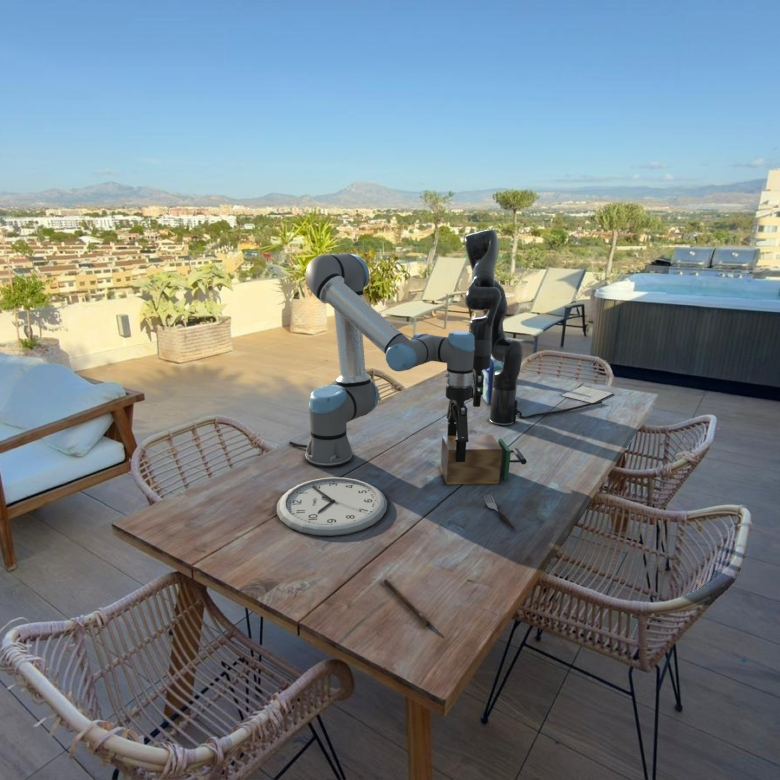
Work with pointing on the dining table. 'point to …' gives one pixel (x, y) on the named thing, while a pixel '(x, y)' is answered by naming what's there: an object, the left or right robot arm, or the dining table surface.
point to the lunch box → (490, 379)
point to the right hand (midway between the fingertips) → (474, 402)
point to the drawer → (508, 458)
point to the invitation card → (587, 394)
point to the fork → (494, 506)
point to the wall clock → (331, 506)
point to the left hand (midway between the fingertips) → (455, 452)
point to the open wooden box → (472, 461)
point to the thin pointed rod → (407, 602)
